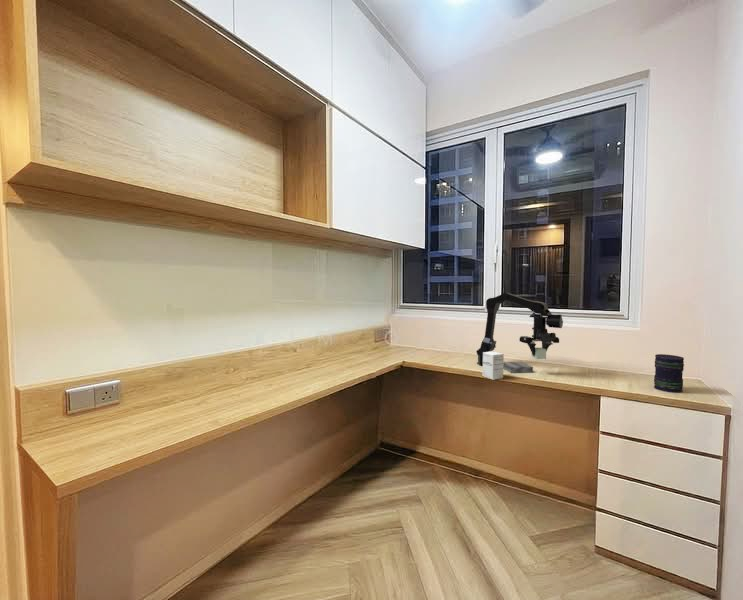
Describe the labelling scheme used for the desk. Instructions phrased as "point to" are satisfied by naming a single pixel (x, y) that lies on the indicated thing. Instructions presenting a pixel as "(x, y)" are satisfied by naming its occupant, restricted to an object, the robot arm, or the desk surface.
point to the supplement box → (493, 365)
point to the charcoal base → (517, 367)
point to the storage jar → (668, 373)
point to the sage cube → (540, 353)
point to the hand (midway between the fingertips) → (538, 355)
